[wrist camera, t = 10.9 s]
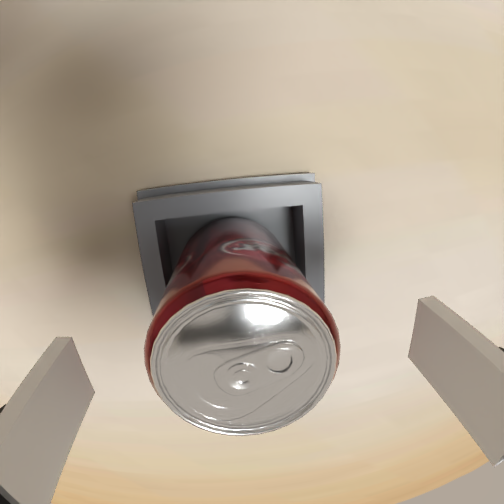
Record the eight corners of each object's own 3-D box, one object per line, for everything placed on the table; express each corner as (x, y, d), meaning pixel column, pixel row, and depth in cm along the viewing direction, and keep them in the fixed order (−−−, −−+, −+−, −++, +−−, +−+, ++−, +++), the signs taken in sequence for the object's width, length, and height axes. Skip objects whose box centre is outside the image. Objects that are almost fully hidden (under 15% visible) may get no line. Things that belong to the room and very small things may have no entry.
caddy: (140, 190, 21) (123, 195, 17) (310, 172, 21) (328, 174, 18) (167, 341, 24) (160, 370, 20) (315, 324, 25) (329, 350, 21)
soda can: (205, 328, 23) (197, 456, 11) (163, 239, 21) (101, 323, 9) (297, 293, 23) (360, 404, 11) (264, 199, 21) (316, 242, 9)
